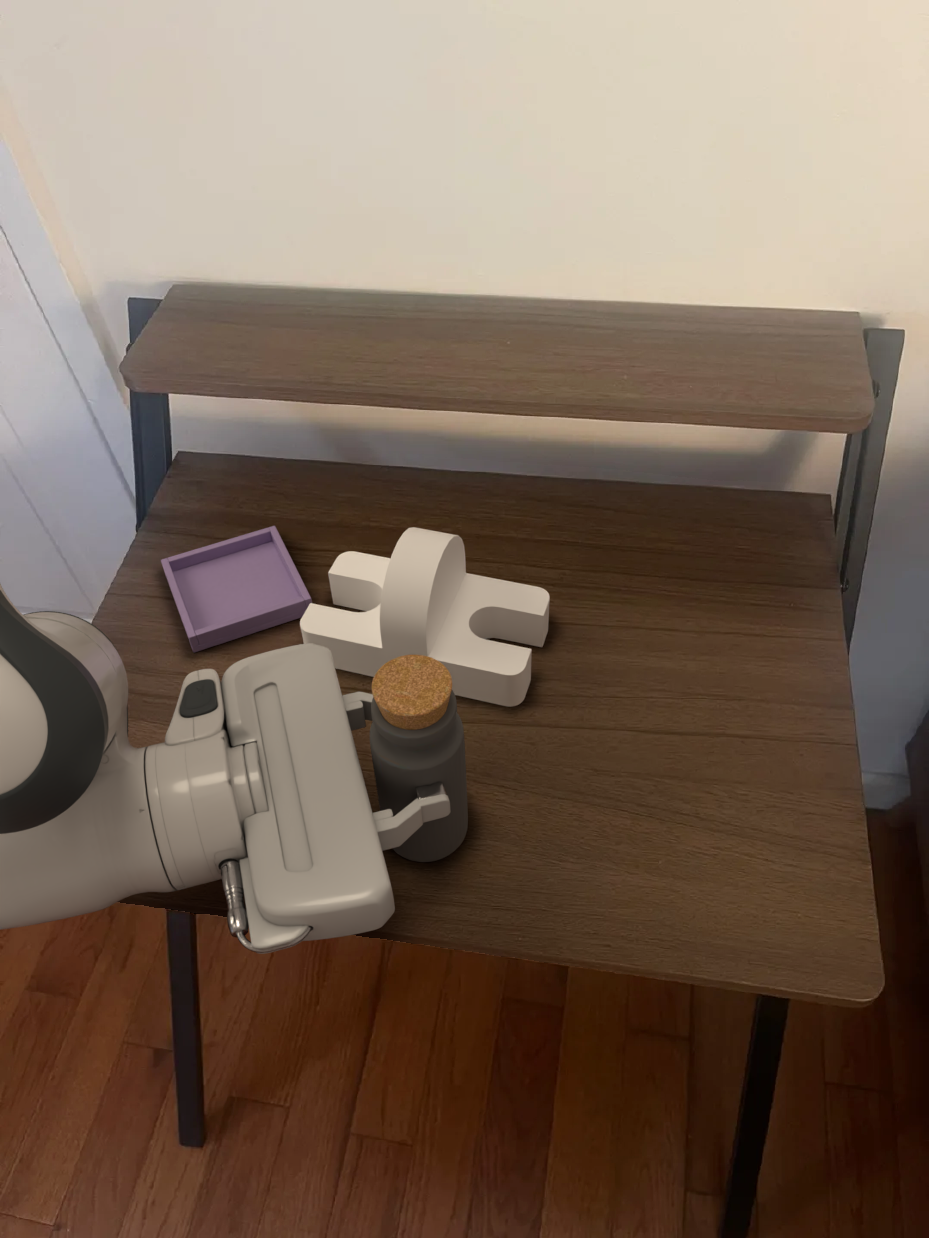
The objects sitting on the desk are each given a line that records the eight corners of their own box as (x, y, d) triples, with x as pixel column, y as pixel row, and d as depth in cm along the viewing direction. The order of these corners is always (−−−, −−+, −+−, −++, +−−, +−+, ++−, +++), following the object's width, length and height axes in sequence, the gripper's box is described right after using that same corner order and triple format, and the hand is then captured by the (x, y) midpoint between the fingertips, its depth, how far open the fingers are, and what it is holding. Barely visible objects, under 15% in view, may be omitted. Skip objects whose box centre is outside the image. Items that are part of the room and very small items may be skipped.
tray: (193, 653, 81) (188, 637, 80) (165, 574, 88) (160, 559, 87) (314, 613, 84) (311, 598, 83) (278, 540, 91) (274, 525, 89)
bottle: (484, 813, 70) (481, 670, 59) (437, 878, 67) (425, 738, 56) (414, 777, 72) (399, 632, 62) (366, 837, 69) (340, 696, 58)
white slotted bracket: (520, 709, 76) (522, 614, 69) (301, 660, 81) (281, 566, 73) (551, 621, 83) (555, 526, 75) (346, 580, 87) (332, 486, 80)
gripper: (220, 933, 52) (477, 865, 55) (186, 653, 66) (392, 608, 69) (243, 986, 57) (479, 921, 59) (206, 714, 71) (399, 669, 73)
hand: (432, 751), depth 64 cm, fingers closed on bottle, 6 cm apart
